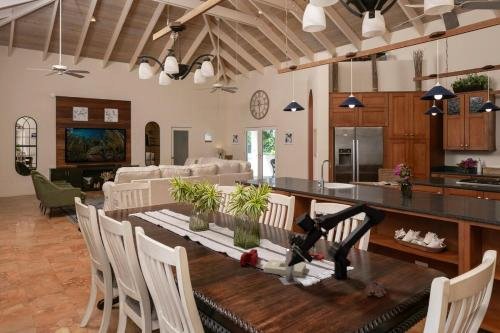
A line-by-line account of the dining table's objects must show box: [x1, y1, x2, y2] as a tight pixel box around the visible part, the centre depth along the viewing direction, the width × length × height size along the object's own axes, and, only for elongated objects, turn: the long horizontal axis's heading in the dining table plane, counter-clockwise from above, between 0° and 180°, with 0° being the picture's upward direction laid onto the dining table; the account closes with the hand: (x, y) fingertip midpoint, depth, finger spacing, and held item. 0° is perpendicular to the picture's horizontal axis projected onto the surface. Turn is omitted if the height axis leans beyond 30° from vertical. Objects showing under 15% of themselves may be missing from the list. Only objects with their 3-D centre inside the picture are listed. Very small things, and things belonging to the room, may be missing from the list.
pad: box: [278, 276, 302, 286], centre depth 157 cm, size 8×8×1 cm
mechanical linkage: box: [239, 248, 259, 268], centre depth 182 cm, size 16×7×5 cm, turn 164°
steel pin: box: [285, 247, 295, 282], centre depth 156 cm, size 4×4×14 cm
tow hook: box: [309, 241, 324, 261], centre depth 189 cm, size 8×13×9 cm
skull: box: [363, 281, 387, 298], centre depth 142 cm, size 12×8×6 cm, turn 134°
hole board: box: [263, 258, 307, 278], centre depth 170 cm, size 18×12×3 cm, turn 71°
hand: (287, 264), depth 156 cm, fingers closed on steel pin, 4 cm apart
